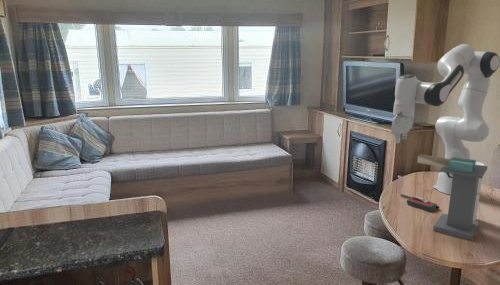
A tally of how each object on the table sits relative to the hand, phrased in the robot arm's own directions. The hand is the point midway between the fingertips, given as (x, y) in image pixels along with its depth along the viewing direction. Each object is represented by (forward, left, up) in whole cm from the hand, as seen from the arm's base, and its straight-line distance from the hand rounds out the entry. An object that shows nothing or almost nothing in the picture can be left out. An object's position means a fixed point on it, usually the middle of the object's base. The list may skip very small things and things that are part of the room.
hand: (400, 141), depth 173 cm
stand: (+10, +28, -31) cm, 43 cm away
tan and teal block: (+13, +21, -5) cm, 26 cm away
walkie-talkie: (-7, +8, -32) cm, 33 cm away
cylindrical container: (-4, +30, -31) cm, 43 cm away
